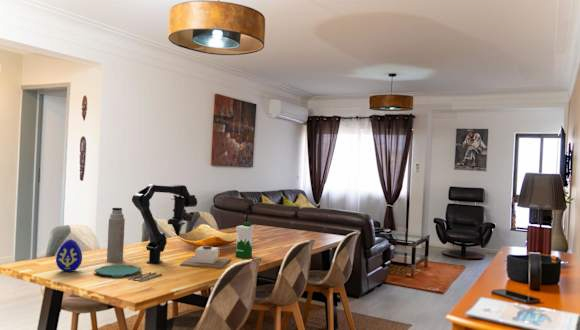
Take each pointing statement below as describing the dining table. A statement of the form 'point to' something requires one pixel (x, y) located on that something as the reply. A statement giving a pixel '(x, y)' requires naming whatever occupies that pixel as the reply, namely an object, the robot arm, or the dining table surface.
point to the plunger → (207, 247)
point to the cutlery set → (123, 272)
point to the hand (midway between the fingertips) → (177, 235)
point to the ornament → (69, 256)
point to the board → (218, 264)
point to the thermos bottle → (115, 236)
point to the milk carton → (244, 240)
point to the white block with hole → (206, 255)
